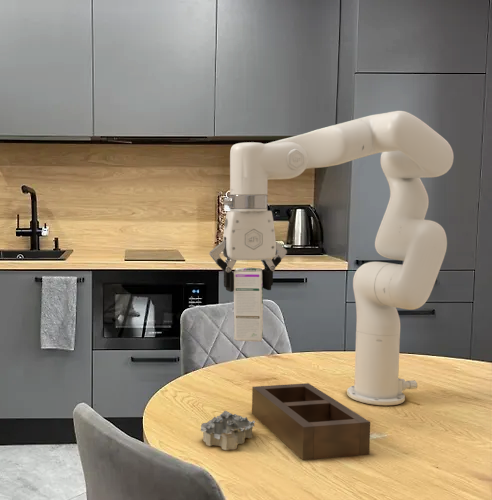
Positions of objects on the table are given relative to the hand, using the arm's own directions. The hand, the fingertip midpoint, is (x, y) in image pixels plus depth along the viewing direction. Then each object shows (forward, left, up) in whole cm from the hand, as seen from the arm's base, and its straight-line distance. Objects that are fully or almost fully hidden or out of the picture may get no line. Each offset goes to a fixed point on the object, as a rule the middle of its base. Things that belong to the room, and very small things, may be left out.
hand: (248, 289), depth 127 cm
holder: (-9, +10, -27) cm, 30 cm away
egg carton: (+8, +10, -28) cm, 30 cm away
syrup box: (0, 0, -10) cm, 10 cm away
